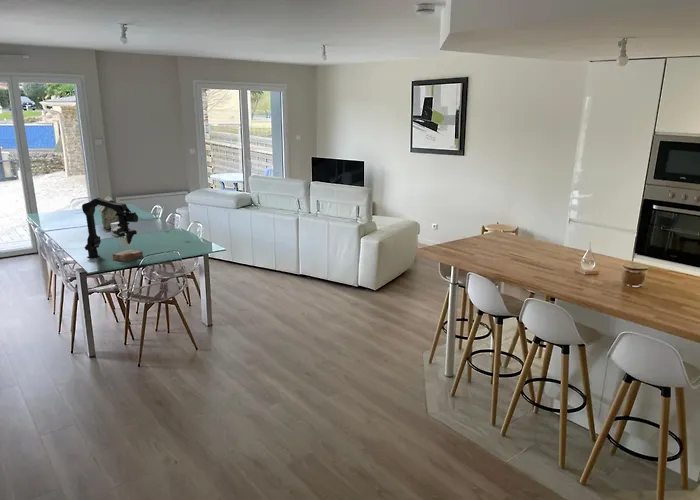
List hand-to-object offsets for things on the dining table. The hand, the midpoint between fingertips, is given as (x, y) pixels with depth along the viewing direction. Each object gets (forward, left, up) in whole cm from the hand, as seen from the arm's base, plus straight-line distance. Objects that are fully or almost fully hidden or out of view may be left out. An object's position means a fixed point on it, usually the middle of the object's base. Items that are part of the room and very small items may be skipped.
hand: (126, 243), depth 361 cm
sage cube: (0, 0, -1) cm, 1 cm away
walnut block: (0, 0, -11) cm, 11 cm away
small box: (-71, +46, -11) cm, 85 cm away
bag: (-104, +65, -11) cm, 123 cm away
